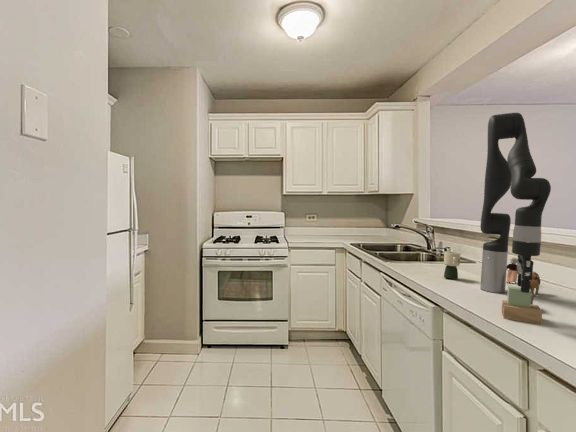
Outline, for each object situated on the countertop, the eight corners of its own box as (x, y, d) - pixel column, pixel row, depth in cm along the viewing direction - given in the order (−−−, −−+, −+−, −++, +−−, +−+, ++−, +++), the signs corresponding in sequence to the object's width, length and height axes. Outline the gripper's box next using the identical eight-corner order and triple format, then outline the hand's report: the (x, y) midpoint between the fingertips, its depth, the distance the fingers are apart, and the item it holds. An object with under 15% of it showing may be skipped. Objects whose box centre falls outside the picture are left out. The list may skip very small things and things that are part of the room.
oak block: (501, 311, 120) (502, 300, 120) (536, 317, 115) (537, 305, 115) (503, 318, 113) (504, 306, 112) (541, 324, 108) (542, 311, 108)
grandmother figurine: (504, 283, 166) (506, 256, 165) (502, 281, 169) (503, 255, 169) (523, 284, 164) (525, 258, 163) (519, 283, 168) (521, 256, 167)
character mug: (461, 281, 165) (463, 254, 165) (445, 280, 167) (447, 253, 166) (455, 276, 176) (457, 251, 176) (440, 275, 178) (441, 250, 177)
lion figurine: (525, 290, 153) (526, 270, 152) (540, 292, 149) (541, 272, 149) (521, 296, 141) (522, 274, 141) (537, 299, 138) (539, 277, 138)
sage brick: (508, 304, 114) (509, 288, 114) (507, 302, 117) (508, 286, 117) (530, 308, 111) (531, 291, 111) (528, 305, 114) (529, 288, 114)
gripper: (510, 236, 121) (507, 283, 122) (515, 241, 108) (511, 292, 109) (536, 238, 117) (533, 286, 118) (545, 243, 105) (541, 296, 106)
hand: (523, 289), depth 114 cm, fingers open, 8 cm apart
